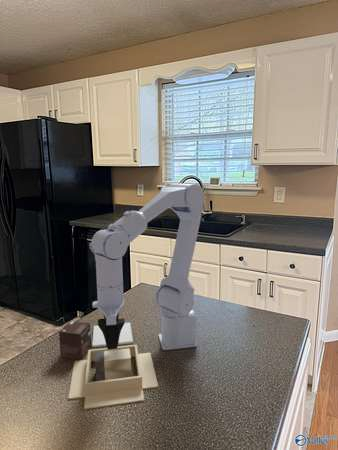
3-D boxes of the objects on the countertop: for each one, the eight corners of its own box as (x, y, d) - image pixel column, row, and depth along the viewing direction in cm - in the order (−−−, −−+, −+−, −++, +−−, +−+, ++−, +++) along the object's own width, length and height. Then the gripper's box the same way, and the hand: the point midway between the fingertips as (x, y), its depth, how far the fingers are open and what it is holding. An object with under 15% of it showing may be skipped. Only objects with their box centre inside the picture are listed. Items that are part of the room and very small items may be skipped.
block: (130, 367, 78) (129, 348, 77) (131, 377, 74) (130, 358, 73) (96, 371, 76) (95, 352, 75) (96, 381, 72) (95, 362, 71)
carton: (148, 346, 86) (148, 336, 86) (160, 398, 67) (160, 385, 66) (75, 354, 83) (75, 343, 82) (66, 411, 63) (65, 398, 63)
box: (81, 360, 80) (80, 334, 79) (60, 358, 81) (58, 331, 80) (92, 347, 86) (90, 322, 85) (71, 345, 87) (70, 320, 86)
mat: (130, 324, 99) (130, 322, 99) (132, 343, 88) (132, 341, 88) (94, 327, 97) (93, 325, 96) (92, 347, 86) (92, 345, 86)
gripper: (93, 274, 77) (95, 325, 80) (89, 297, 63) (93, 359, 66) (122, 272, 78) (123, 322, 81) (125, 294, 64) (127, 355, 67)
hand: (112, 339), depth 73 cm, fingers open, 7 cm apart
